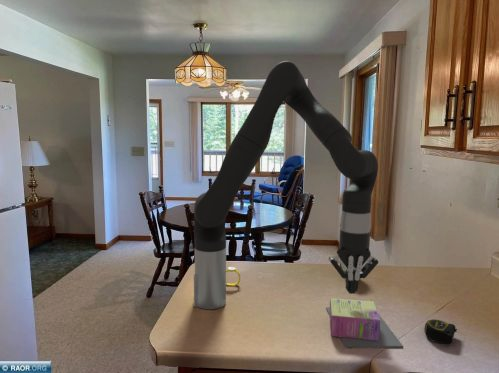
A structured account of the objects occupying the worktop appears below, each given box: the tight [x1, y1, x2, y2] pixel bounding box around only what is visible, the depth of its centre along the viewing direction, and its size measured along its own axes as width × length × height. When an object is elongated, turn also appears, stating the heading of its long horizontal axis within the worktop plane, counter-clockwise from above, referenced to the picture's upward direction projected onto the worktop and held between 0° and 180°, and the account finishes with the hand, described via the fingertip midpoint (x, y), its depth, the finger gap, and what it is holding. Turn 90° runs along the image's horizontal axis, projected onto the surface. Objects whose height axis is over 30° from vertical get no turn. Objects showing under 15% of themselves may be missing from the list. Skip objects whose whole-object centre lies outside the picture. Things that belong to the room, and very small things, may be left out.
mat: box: [325, 306, 404, 349], centre depth 100 cm, size 14×20×1 cm
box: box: [328, 297, 380, 341], centre depth 97 cm, size 10×6×12 cm
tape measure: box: [423, 318, 458, 345], centre depth 94 cm, size 7×7×4 cm
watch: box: [226, 266, 241, 287], centre depth 125 cm, size 6×3×6 cm, turn 91°
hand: (351, 292), depth 98 cm, fingers closed
